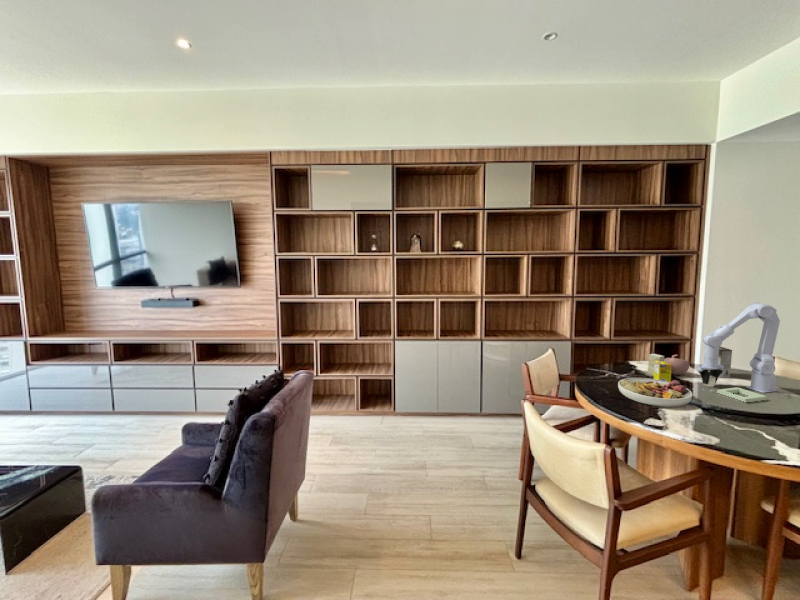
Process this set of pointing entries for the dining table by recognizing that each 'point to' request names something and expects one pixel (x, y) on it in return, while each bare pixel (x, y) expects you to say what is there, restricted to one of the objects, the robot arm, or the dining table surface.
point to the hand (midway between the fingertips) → (709, 383)
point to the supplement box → (662, 371)
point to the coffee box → (724, 361)
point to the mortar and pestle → (677, 365)
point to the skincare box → (651, 362)
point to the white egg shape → (711, 381)
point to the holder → (751, 395)
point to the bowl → (655, 392)
